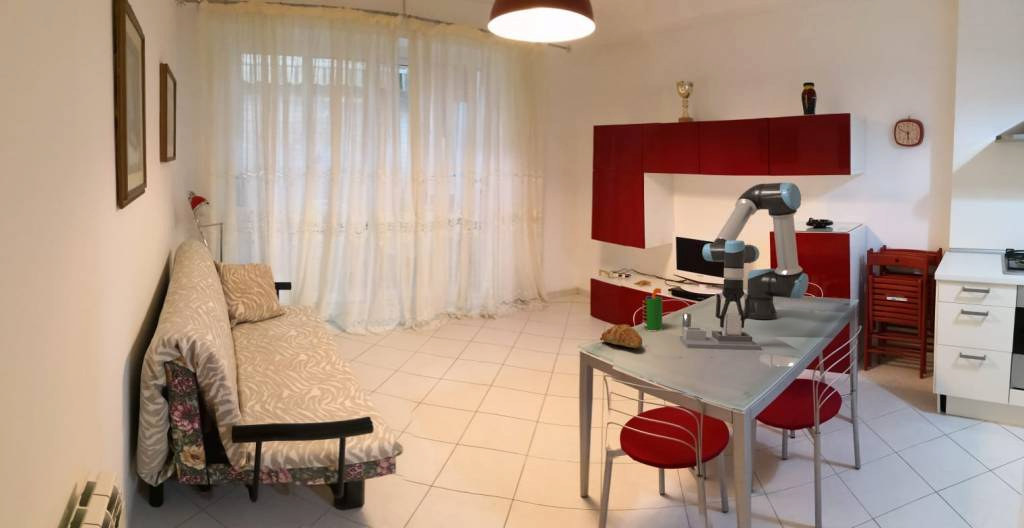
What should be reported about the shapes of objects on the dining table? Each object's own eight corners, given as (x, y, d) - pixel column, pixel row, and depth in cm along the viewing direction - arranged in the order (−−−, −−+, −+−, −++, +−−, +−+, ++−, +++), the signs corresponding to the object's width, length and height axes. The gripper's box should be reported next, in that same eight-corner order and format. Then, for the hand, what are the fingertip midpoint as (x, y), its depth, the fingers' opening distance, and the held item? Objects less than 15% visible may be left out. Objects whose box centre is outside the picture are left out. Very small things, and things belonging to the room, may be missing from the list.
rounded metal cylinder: (689, 336, 272) (690, 313, 271) (691, 337, 268) (691, 314, 268) (681, 335, 272) (682, 313, 272) (682, 337, 269) (683, 314, 268)
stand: (747, 341, 261) (748, 328, 261) (760, 349, 243) (761, 336, 243) (679, 339, 264) (679, 326, 263) (687, 347, 246) (687, 333, 246)
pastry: (593, 342, 257) (594, 323, 256) (614, 338, 265) (614, 320, 265) (634, 350, 241) (634, 329, 241) (654, 346, 250) (654, 326, 249)
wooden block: (736, 337, 256) (736, 313, 255) (739, 340, 250) (740, 315, 249) (723, 337, 256) (724, 313, 256) (726, 339, 250) (727, 315, 250)
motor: (638, 330, 285) (639, 286, 284) (657, 330, 286) (659, 287, 285) (645, 334, 275) (646, 289, 274) (665, 334, 276) (666, 289, 274)
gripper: (754, 278, 254) (752, 334, 256) (708, 277, 256) (706, 333, 257) (759, 279, 247) (757, 338, 248) (712, 279, 248) (710, 336, 250)
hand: (731, 335), depth 253 cm, fingers open, 5 cm apart
